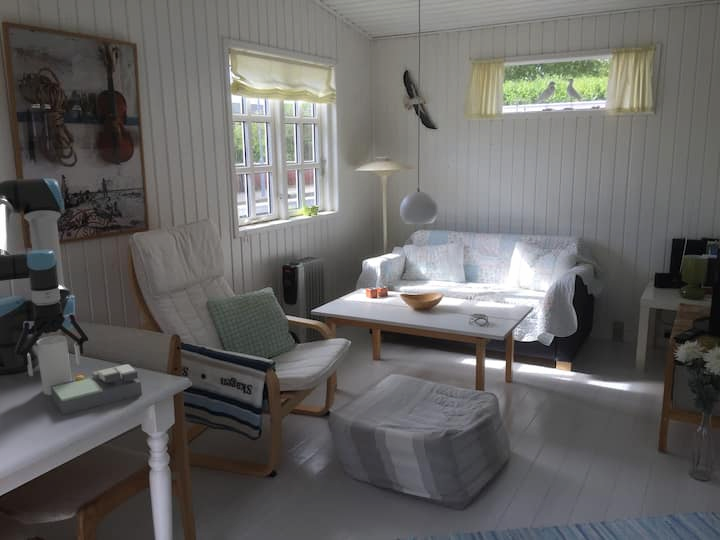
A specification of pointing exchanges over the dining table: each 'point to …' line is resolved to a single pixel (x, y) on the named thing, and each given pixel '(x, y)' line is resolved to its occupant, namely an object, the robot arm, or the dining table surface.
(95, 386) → the panel
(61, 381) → the cup
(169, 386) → the dining table surface
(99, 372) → the light grey rectangular block
